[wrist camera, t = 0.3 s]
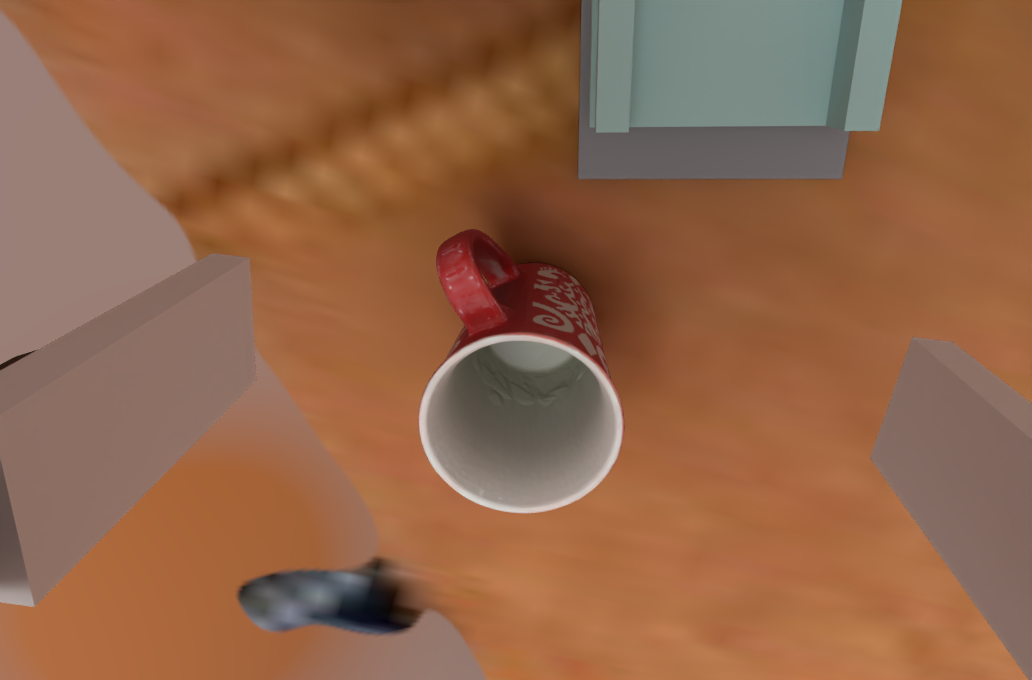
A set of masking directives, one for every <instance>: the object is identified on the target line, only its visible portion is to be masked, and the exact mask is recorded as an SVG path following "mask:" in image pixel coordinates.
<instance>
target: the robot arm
mask: <svg viewBox="0 0 1032 680" xmlns="http://www.w3.org/2000/svg"><path fill="white" fill-rule="evenodd" d="M255 381H256V365H255V347H254V329H253V311H252V293H251V275H250V258H247V257H238V256H230V255H222V254H213V253H212V254H210V255H209V256H207V257H205V258H203V259H201V260H199V261H198V262H196V263H194V264H192V265H190V266H189V267H187V268H185V269H183V270H181V271H180V272H178V273H176V274H174V275H172V276H171V277H169V278H167V279H165V280H163V281H161V282H160V283H158V284H156V285H154V286H153V287H151V288H149V289H147V290H145V291H143V292H142V293H140V294H138V295H136V296H135V297H133V298H131V299H129V300H127V301H125V302H123V303H122V304H120V305H118V306H116V307H114V308H113V309H111V310H109V311H107V312H105V313H104V314H102V315H100V316H98V317H97V318H95V319H93V320H91V321H89V322H87V323H85V324H84V325H82V326H81V327H78V328H76V329H75V330H73V331H71V332H69V333H68V334H66V335H64V336H62V337H60V338H58V339H57V340H55V341H53V342H51V343H49V344H47V345H46V346H44V347H42V348H40V349H38V350H35V351H32V352H29V353H26V354H22V355H20V356H17V357H14V358H12V359H10V360H8V361H6V362H5V363H3V364H1V365H0V602H3V603H10V604H18V605H25V606H32V607H35V606H36V605H37V604H38V603H39V602H40V601H41V600H42V599H43V598H44V597H45V596H46V595H47V594H48V593H49V592H50V591H51V590H52V589H53V588H54V587H55V586H56V584H58V583H59V582H60V580H61V579H62V578H63V577H64V576H65V575H66V574H67V573H68V572H69V571H70V570H71V569H72V568H73V567H74V566H75V565H76V564H77V563H78V562H79V561H80V560H81V559H82V558H83V557H84V556H85V555H86V554H87V553H88V552H89V551H90V550H91V549H92V548H93V547H94V546H95V545H96V544H97V543H98V542H99V541H100V540H101V539H102V538H103V537H104V536H105V535H106V534H107V532H108V531H109V530H110V529H111V528H112V527H113V526H114V525H115V524H116V523H117V522H118V521H119V520H120V519H121V518H122V517H123V516H124V515H125V514H126V513H127V512H128V511H129V510H130V509H131V508H132V507H133V506H134V505H135V504H136V503H137V502H138V501H139V500H140V499H141V498H142V497H143V496H144V494H146V493H147V492H148V491H149V490H150V489H151V487H152V486H153V485H154V484H155V483H156V482H157V481H158V480H159V479H160V478H161V477H162V476H163V475H164V474H165V473H166V472H167V471H168V470H169V469H170V468H171V467H172V466H173V465H174V464H175V463H176V462H177V461H178V460H179V459H180V458H181V457H182V456H183V455H184V454H185V453H186V452H187V451H188V450H189V449H190V448H191V447H192V446H193V445H194V444H195V442H196V441H198V440H199V438H200V437H201V436H202V435H203V434H204V433H205V432H206V431H207V430H208V429H209V428H210V427H211V426H212V425H213V424H214V423H215V422H216V421H217V420H218V419H219V418H220V417H221V416H222V415H223V414H224V413H225V412H226V411H227V410H228V409H229V408H230V407H231V406H232V404H234V403H235V402H236V401H237V400H238V398H240V397H241V396H242V395H243V393H244V392H245V391H246V390H247V389H248V388H249V387H250V386H251V385H252V384H253V383H254V382H255ZM870 459H871V460H872V462H873V463H874V464H875V466H876V467H877V468H878V470H879V471H880V473H881V474H882V475H883V477H884V478H885V480H886V481H887V482H888V484H889V485H890V487H891V488H892V489H893V491H894V492H895V494H896V495H897V496H898V498H899V499H900V501H901V502H902V503H903V505H904V506H905V508H906V509H907V510H908V512H909V513H910V515H911V516H912V517H913V519H914V520H915V522H916V523H917V524H918V526H919V527H920V529H921V530H922V531H923V533H924V534H925V536H926V537H927V538H928V540H929V541H930V543H931V544H932V545H933V547H934V548H935V550H936V551H937V552H938V554H939V555H940V557H941V558H942V559H943V561H944V562H945V564H946V565H947V566H948V568H949V569H950V570H951V572H952V573H953V575H954V576H955V577H956V579H957V580H958V582H959V583H960V584H961V586H962V587H963V589H964V590H965V591H966V593H967V594H968V596H969V597H970V598H971V600H972V601H973V603H974V604H975V605H976V607H977V608H978V610H979V611H980V612H981V614H982V615H983V617H984V618H985V619H986V621H987V622H988V624H989V625H990V626H991V628H992V629H993V631H994V632H995V633H996V635H997V636H998V638H999V639H1000V640H1001V642H1002V643H1003V645H1004V646H1005V647H1006V649H1007V650H1008V652H1009V653H1010V654H1011V656H1012V657H1013V659H1014V660H1015V661H1016V663H1017V664H1018V666H1019V667H1020V668H1021V670H1022V671H1023V673H1024V674H1025V675H1026V677H1027V678H1028V679H1029V680H1032V403H1030V402H1029V401H1028V400H1027V399H1025V398H1024V397H1023V396H1021V395H1020V394H1019V393H1018V392H1016V391H1015V390H1014V389H1012V388H1011V387H1010V386H1009V385H1007V384H1006V383H1005V382H1003V381H1002V380H1001V379H1000V378H998V377H997V376H996V375H994V374H993V373H992V372H991V371H989V370H988V369H987V368H985V367H984V366H983V365H982V364H980V363H979V362H978V361H976V360H975V359H974V358H973V357H971V356H970V355H969V354H967V353H966V352H965V351H964V350H962V349H961V348H960V347H958V346H957V345H956V344H955V343H953V342H949V341H941V340H932V339H924V338H916V337H912V340H911V342H910V345H909V348H908V351H907V354H906V357H905V360H904V362H903V365H902V368H901V371H900V374H899V377H898V380H897V382H896V385H895V388H894V391H893V394H892V397H891V400H890V402H889V405H888V408H887V411H886V414H885V417H884V420H883V422H882V425H881V428H880V431H879V434H878V437H877V440H876V442H875V445H874V448H873V451H872V454H871V457H870Z"/></svg>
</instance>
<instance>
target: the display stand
mask: <svg viewBox="0 0 1032 680" xmlns="http://www.w3.org/2000/svg"><path fill="white" fill-rule="evenodd" d="M901 5H902V0H582V4H581V55H580V107H579V158H578V179H842V176H843V170H844V164H845V157H846V151H847V145H848V139H849V133H850V131H879V129H880V123H881V117H882V112H883V106H884V101H885V95H886V89H887V84H888V78H889V72H890V67H891V61H892V56H893V50H894V44H895V39H896V33H897V27H898V22H899V16H900V11H901Z"/></svg>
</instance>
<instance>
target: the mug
mask: <svg viewBox="0 0 1032 680" xmlns="http://www.w3.org/2000/svg"><path fill="white" fill-rule="evenodd" d="M436 266H437V271H438V275H439V279H440V282H441V285H442V287H443V290H444V292H445V294H446V296H447V298H448V300H449V302H450V304H451V305H452V306H453V308H454V310H455V312H456V313H457V315H458V316H459V317H460V319H461V320H462V321H463V323H464V327H463V329H462V331H461V332H460V334H459V336H458V338H457V340H456V341H455V343H454V345H453V347H452V349H451V350H450V352H449V354H448V356H447V358H446V359H445V361H444V362H443V363H442V364H441V365H440V366H439V367H438V369H437V370H436V371H435V372H434V374H433V375H432V377H431V378H430V380H429V382H428V384H427V386H426V388H425V390H424V393H423V395H422V399H421V403H420V408H419V419H418V425H419V434H420V439H421V442H422V446H423V449H424V452H425V454H426V456H427V458H428V460H429V461H430V463H431V465H432V466H433V468H434V469H435V471H436V472H437V473H438V474H439V476H440V477H441V478H442V479H443V480H444V481H445V482H446V483H447V484H448V485H449V486H450V487H451V488H453V489H454V490H455V491H457V492H458V493H459V494H461V495H462V496H464V497H465V498H467V499H469V500H471V501H473V502H475V503H477V504H480V505H482V506H486V507H488V508H491V509H495V510H500V511H505V512H512V513H537V512H544V511H550V510H554V509H557V508H560V507H563V506H565V505H568V504H570V503H573V502H574V501H576V500H578V499H580V498H582V497H583V496H585V495H587V494H588V493H589V492H591V491H592V490H593V489H594V488H595V487H596V486H597V485H599V484H600V483H601V482H602V480H603V479H604V478H605V477H606V476H607V475H608V473H609V472H610V471H611V469H612V467H613V466H614V464H615V462H616V459H617V457H618V455H619V452H620V450H621V447H622V442H623V437H624V428H625V425H624V413H623V408H622V403H621V400H620V397H619V394H618V392H617V390H616V388H615V386H614V384H613V382H612V380H611V378H610V374H609V370H608V366H607V363H606V359H605V355H604V352H603V345H602V341H601V339H600V335H599V331H598V327H597V323H596V317H595V313H594V309H593V305H592V303H591V300H590V298H589V296H588V294H587V292H586V291H585V289H584V288H583V286H582V285H581V284H580V283H579V282H578V281H577V280H576V279H575V278H574V277H572V276H571V275H570V274H569V273H567V272H565V271H563V270H562V269H560V268H558V267H555V266H552V265H548V264H543V263H524V264H519V265H516V264H515V263H514V262H513V260H512V259H511V258H510V256H509V255H508V254H507V253H506V252H505V251H504V250H503V249H502V248H501V247H500V246H499V245H498V244H497V243H496V242H495V241H493V240H492V239H491V238H490V237H489V236H487V235H486V234H485V233H483V232H481V231H479V230H475V229H470V230H466V231H463V232H460V233H458V234H456V235H455V236H453V237H451V238H449V239H448V240H446V241H445V242H444V243H443V244H442V245H441V246H440V247H439V249H438V252H437V257H436ZM481 273H482V274H483V276H484V277H485V278H486V279H487V281H488V284H486V282H485V281H484V279H483V277H482V275H481Z"/></svg>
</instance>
